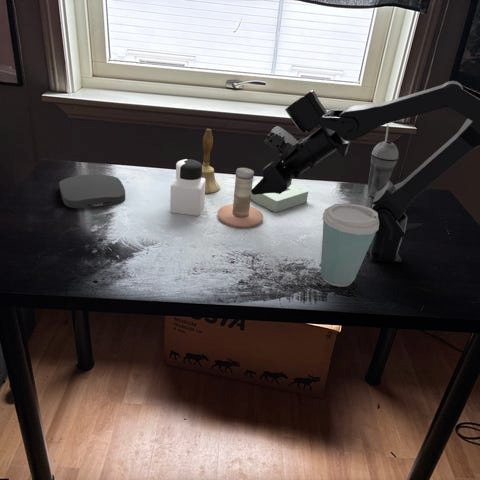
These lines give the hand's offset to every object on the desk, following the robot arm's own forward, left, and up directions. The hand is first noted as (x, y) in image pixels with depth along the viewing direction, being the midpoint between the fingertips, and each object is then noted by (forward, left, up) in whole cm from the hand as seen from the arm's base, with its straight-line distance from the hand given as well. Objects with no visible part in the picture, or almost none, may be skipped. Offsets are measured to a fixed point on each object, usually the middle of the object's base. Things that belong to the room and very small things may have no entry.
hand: (259, 185), depth 108 cm
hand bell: (+17, +14, -9) cm, 24 cm away
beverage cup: (+23, -34, -9) cm, 43 cm away
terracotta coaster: (+1, +4, -9) cm, 10 cm away
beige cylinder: (+1, +4, -8) cm, 9 cm away
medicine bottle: (+3, +17, -9) cm, 19 cm away
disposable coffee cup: (-22, -16, -9) cm, 29 cm away
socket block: (+14, -5, -9) cm, 18 cm away
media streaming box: (+6, +41, -10) cm, 42 cm away
